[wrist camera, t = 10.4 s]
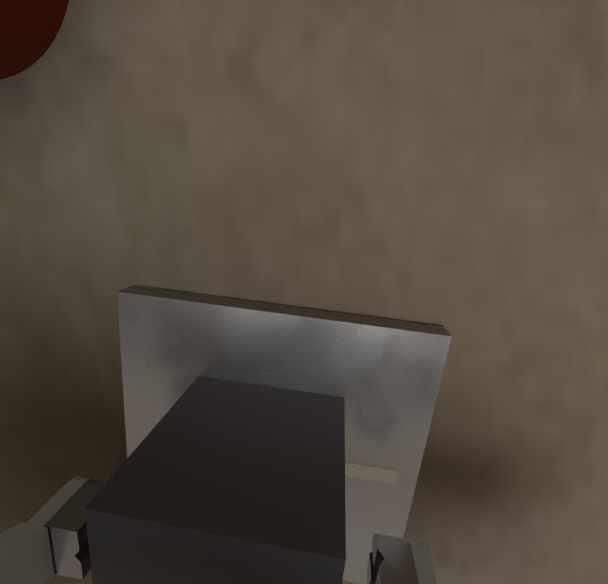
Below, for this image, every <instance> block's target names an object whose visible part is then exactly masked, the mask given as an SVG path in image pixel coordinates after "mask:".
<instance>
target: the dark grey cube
mask: <svg viewBox="0 0 608 584" xmlns="http://www.w3.org/2000/svg"><path fill="white" fill-rule="evenodd" d="M84 511H85V519H86V527H87V536H88V544H89V553H90V561H91V570H92V578H93V584H342V579H343V573H344V568H345V562H346V517H345V403H344V397H338V396H332V395H325V394H318V393H312V392H305V391H298V390H292V389H285V388H278V387H272V386H265V385H258V384H252V383H245V382H238V381H232V380H225V379H218V378H212V377H205V376H198V377H197V378H196V380H195V381H194V382H193V383H192V384H191V385H190V386H189V388H188V389H187V390H186V391H185V392H184V393H183V395H182V396H181V397H180V398H179V399H178V400H177V402H176V403H175V404H174V405H173V406H172V407H171V408H170V410H169V411H168V412H167V413H166V414H165V415H164V417H163V418H162V419H161V420H160V421H159V422H158V424H157V425H156V426H155V427H154V428H153V429H152V430H151V432H150V433H149V434H148V435H147V436H146V437H145V439H144V440H143V441H142V442H141V443H140V444H139V446H138V447H137V448H136V449H135V450H134V451H133V452H132V454H131V455H130V456H129V457H128V458H127V459H126V461H125V462H124V463H123V464H122V465H121V466H120V468H119V469H118V470H117V471H116V472H115V473H114V474H113V476H112V477H111V478H110V479H109V480H108V481H107V483H106V484H105V485H104V486H103V487H102V488H101V490H100V491H99V492H98V493H97V494H96V495H95V497H94V498H93V499H92V500H91V501H90V502H89V503H88V505H87V506H86V507H85V508H84Z"/></svg>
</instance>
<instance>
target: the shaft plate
mask: <svg viewBox="0 0 608 584" xmlns="http://www.w3.org/2000/svg"><path fill="white" fill-rule="evenodd" d="M117 301H118V317H119V333H120V349H121V365H122V381H123V397H124V414H125V430H126V446H127V458H128V457H129V456H130V455H131V454H132V452H133V451H134V450H135V449H136V448H137V447H138V446H139V444H140V443H141V442H142V441H143V440H144V439H145V437H146V436H147V435H148V434H149V433H150V432H151V430H152V429H153V428H154V427H155V426H156V425H157V424H158V422H159V421H160V420H161V419H162V418H163V417H164V415H165V414H166V413H167V412H168V411H169V410H170V408H171V407H172V406H173V405H174V404H175V403H176V402H177V400H178V399H179V398H180V397H181V396H182V395H183V393H184V392H185V391H186V390H187V389H188V388H189V386H190V385H191V384H192V383H193V382H194V381H195V380H196V378H197V377H198V376H205V377H212V378H218V379H225V380H232V381H238V382H245V383H252V384H258V385H265V386H272V387H278V388H285V389H292V390H298V391H305V392H312V393H318V394H325V395H332V396H338V397H344V403H345V517H346V562H345V568H344V573H343V579H342V580H344V581H349V582H354V583H359V584H367V569H368V559H369V553H371V552H372V539H373V535H374V534H375V533H376V534H382V535H388V536H393V537H399V538H403V537H404V533H405V529H406V525H407V520H408V516H409V512H410V508H411V504H412V500H413V496H414V491H415V487H416V483H417V479H418V475H419V471H420V467H421V462H422V458H423V454H424V450H425V446H426V442H427V437H428V433H429V429H430V425H431V421H432V417H433V413H434V408H435V404H436V400H437V396H438V392H439V388H440V384H441V379H442V375H443V371H444V367H445V363H446V359H447V354H448V350H449V346H450V342H451V338H452V336H451V335H450V334H449V333H448V331H447V330H446V329H445V328H444V327H443V326H440V325H433V324H425V323H417V322H410V321H402V320H395V319H387V318H379V317H372V316H364V315H356V314H349V313H341V312H334V311H326V310H318V309H311V308H303V307H295V306H288V305H280V304H273V303H265V302H257V301H250V300H242V299H234V298H227V297H219V296H212V295H204V294H196V293H189V292H181V291H173V290H166V289H158V288H151V287H143V286H135V285H134V286H131V287H128V288H126V289H123V290H120V291H117Z"/></svg>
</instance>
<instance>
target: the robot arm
mask: <svg viewBox="0 0 608 584" xmlns="http://www.w3.org/2000/svg"><path fill="white" fill-rule="evenodd" d="M105 484H106V482H102V481H97V480H93V479H88V478H83V477H78V476H76V477H74V478H72V479H70V480H69V481H68V482H67V483H66V484H65V485H64V486H63V487H62V488H61V489H60V490H59V491H58V492H57V493H56V494H55V495H54V496H53V497H52V498H51V499H50V500H49V501H48V502H47V503H46V504H45V505H44V506H43V507H42V508H41V509H40V510H39V511H38V512H37V513H36V514H35V515H34V516H33V517H32V518H31V519H30V520H29V521H28V522H27V523H25V522H21V523H19V524H17V525H15V526H13V527H11V528H9V529H7V530H5V531H3V532H1V533H0V584H46V583H47V582H48V581H50V580H51V579H52V578H54V577H55V575H60V576H66V577H71V578H77V579H82V580H83V579H84V577H85V576H86V574H87V573H88V572H89V570H90V569H91V561H90V553H89V544H88V536H87V527H86V519H85V511H84V508H85V507H86V506H87V505H88V503H89V502H90V501H91V500H92V499H93V498H94V497H95V495H96V494H97V493H98V492H99V491H100V490H101V488H102V487H103V486H104V485H105ZM367 584H437V580H436V577H435V573H434V569H433V565H432V561H431V557H430V553H429V549H428V546H427V545H426V543H424V542H419V541H413V540H407V539H405V538H399V537H393V536H388V535H382V534H376V533H375V534H374V535H373V539H372V552H371V553H369V559H368V569H367Z"/></svg>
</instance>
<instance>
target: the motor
mask: <svg viewBox="0 0 608 584" xmlns="http://www.w3.org/2000/svg"><path fill="white" fill-rule="evenodd" d="M67 5H68V0H0V78H4V77H8V76H11V75H14V74H16V73H19V72H21V71H23V70H24V69H26V68H28V67H29V66H30V65H32V64H33V63H34V62H35V61H37V60H38V59H39V58H40V57H41V56H42V55H43V54H44V52H45V51H46V50H47V49H48V47H49V46H50V44H51V43H52V42H53V40H54V38H55V36H56V35H57V32H58V30H59V28H60V26H61V24H62V21H63V18H64V15H65V12H66V8H67Z"/></svg>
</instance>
